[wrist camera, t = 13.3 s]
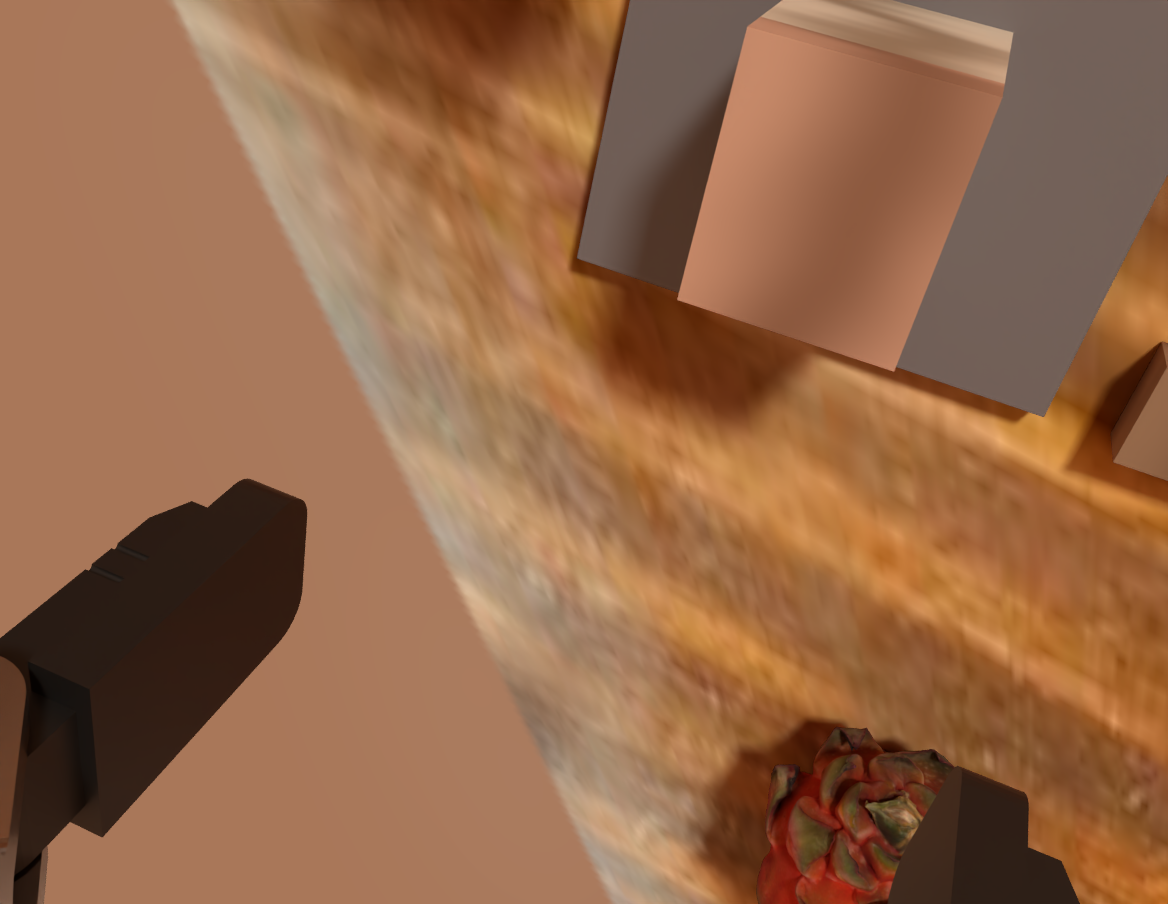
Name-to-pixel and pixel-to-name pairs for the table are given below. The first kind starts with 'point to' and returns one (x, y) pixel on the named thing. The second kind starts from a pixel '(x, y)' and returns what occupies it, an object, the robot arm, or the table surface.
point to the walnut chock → (1145, 422)
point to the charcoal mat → (990, 203)
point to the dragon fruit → (845, 820)
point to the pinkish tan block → (843, 169)
